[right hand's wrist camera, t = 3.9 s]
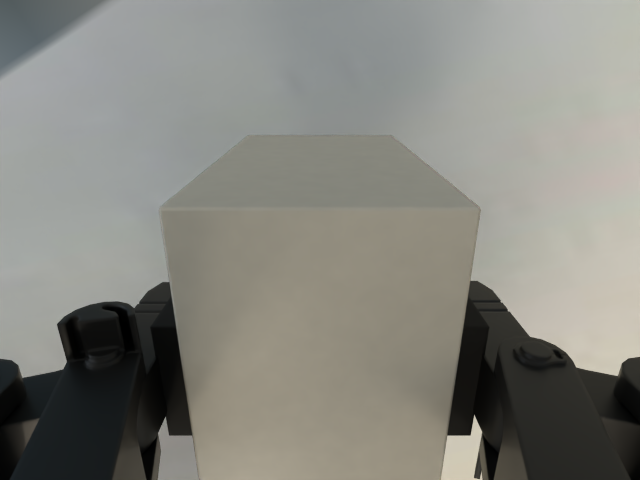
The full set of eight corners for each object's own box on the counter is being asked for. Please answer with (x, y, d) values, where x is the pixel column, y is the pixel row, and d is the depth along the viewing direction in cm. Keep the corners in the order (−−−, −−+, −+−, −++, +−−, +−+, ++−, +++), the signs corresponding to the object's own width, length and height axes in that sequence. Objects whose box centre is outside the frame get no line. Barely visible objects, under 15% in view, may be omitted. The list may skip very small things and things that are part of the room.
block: (392, 135, 14) (482, 206, 6) (380, 330, 17) (432, 547, 9) (247, 135, 14) (156, 206, 6) (259, 330, 17) (207, 547, 9)
